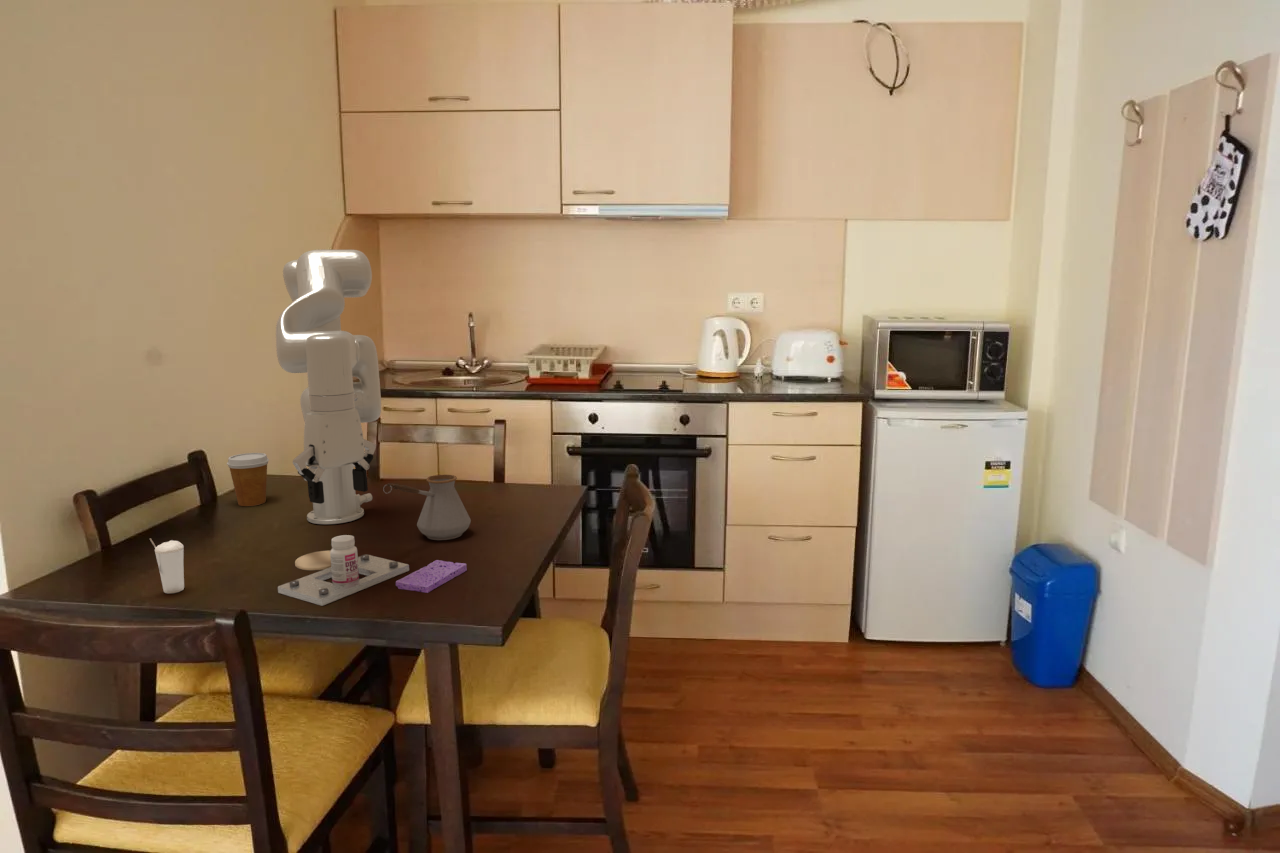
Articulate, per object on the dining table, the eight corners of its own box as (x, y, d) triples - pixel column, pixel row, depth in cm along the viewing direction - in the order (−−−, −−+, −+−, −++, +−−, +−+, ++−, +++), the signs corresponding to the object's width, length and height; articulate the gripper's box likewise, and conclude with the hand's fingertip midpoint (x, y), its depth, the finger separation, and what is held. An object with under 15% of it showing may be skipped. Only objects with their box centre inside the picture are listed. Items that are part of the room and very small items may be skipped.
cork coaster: (326, 550, 173) (326, 547, 173) (359, 558, 168) (359, 555, 168) (284, 564, 164) (284, 561, 164) (317, 573, 159) (317, 570, 159)
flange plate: (366, 560, 167) (365, 551, 166) (409, 570, 161) (408, 561, 160) (278, 592, 150) (277, 583, 150) (322, 605, 144) (321, 596, 144)
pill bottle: (350, 587, 153) (347, 542, 151) (327, 585, 153) (323, 541, 152) (364, 577, 157) (361, 534, 156) (341, 576, 158) (338, 533, 157)
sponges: (467, 572, 161) (466, 563, 160) (427, 596, 149) (426, 586, 149) (437, 568, 163) (436, 559, 163) (395, 590, 152) (394, 580, 152)
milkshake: (162, 586, 154) (156, 534, 152) (192, 585, 154) (186, 533, 152) (150, 595, 149) (143, 542, 147) (181, 594, 150) (175, 541, 148)
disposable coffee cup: (259, 496, 216) (255, 450, 214) (280, 501, 210) (276, 455, 208) (223, 504, 208) (218, 457, 206) (244, 510, 203) (239, 462, 201)
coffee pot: (443, 524, 190) (440, 460, 188) (482, 531, 184) (479, 465, 182) (370, 551, 172) (365, 480, 170) (410, 560, 166) (406, 487, 164)
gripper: (356, 396, 158) (363, 484, 161) (276, 408, 144) (284, 504, 147) (384, 398, 154) (390, 488, 157) (304, 411, 140) (312, 510, 143)
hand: (339, 496), depth 152 cm, fingers open, 9 cm apart
